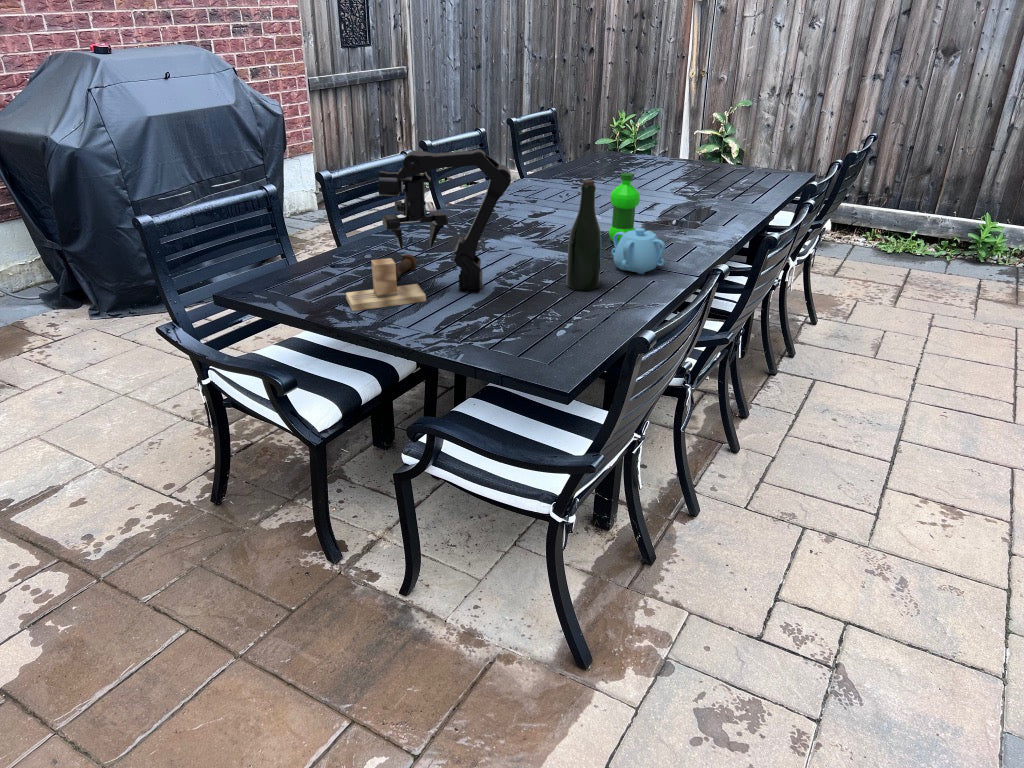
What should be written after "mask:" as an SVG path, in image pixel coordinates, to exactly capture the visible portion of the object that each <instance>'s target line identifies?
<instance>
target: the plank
mask: <svg viewBox="0 0 1024 768" xmlns="http://www.w3.org/2000/svg"><path fill="white" fill-rule="evenodd" d="M345 299H346V301H347V303H348V305H349V307H350V309H351V312H356V311H357V312H358V311H364V310H371V309H378V308H379V309H380V308H386V307H387V308H388V307H394V306H395V307H396V306H400V305H401V306H402V305H408V304H417V303H423V302H427V296H426V293H425V292H424V291H423V290H422V288H421V287H420V285H419V284H418V283H411V284H405V285H397V296H389V297H382V298H377V296H376V295H375V293H374V288H373V289H364V290H356V291H348V292H345Z"/></svg>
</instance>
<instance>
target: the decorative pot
mask: <svg viewBox="0 0 1024 768" xmlns="http://www.w3.org/2000/svg"><path fill="white" fill-rule="evenodd" d="M634 229H635V230H632V231H628V232H626V233H624V232H618V233H616V234H615V235H614V237H613V241H614V242H613V241H612V242H613V246H614V247H613V248H612V249H611V252H610V253H611V255H612V256H613V262H614V264H615V266H616V268H618V269H619V270H621V271H628V272H633V273H636V274H638V275H644V274H645V273H646V272H647V273H648V272H651V271H653V270H655V269H656V268H657V267H663V266H665V264H666V260H665V259H664V258H663V256H664V254H665V250H666V243H665V241H664V240H661V239H659V238H658V236H657V234H656V233H654V232H653V231H652V230H646V229H645V228H643V227H636V228H634ZM618 235H622V237H621V239H620V241H619V243H618V240H617V237H618Z"/></svg>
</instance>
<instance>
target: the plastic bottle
mask: <svg viewBox="0 0 1024 768" xmlns="http://www.w3.org/2000/svg"><path fill="white" fill-rule="evenodd" d="M633 178H634V174H633V173H631V172H630V173H629V172H622V173H621V174H620V180H621V184H619V185H618V186H616V187H615V188H614V189H613V190H611V193H610V196H609V197H610V203H611V205H612V206H613V207H612V218H611V219H612V220H611V222H612V223H611V225H610V226H609V228H608V236H609V238H610V240H611V242H613V243H614V241H613V237H614V235H615V234H616V233H618V232H624V233H626V232H628V231H632V230H635V229H636V228H635V226H634V225H635V213H636V207H638V206H639V203H640V200H641V196H640V193H639V191H638V190H637V189H636V188H635V186H634V185H632V181H633V180H634V179H633ZM621 237H622V235H618V237H617V240H618V243H619V241H620V239H621Z"/></svg>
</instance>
